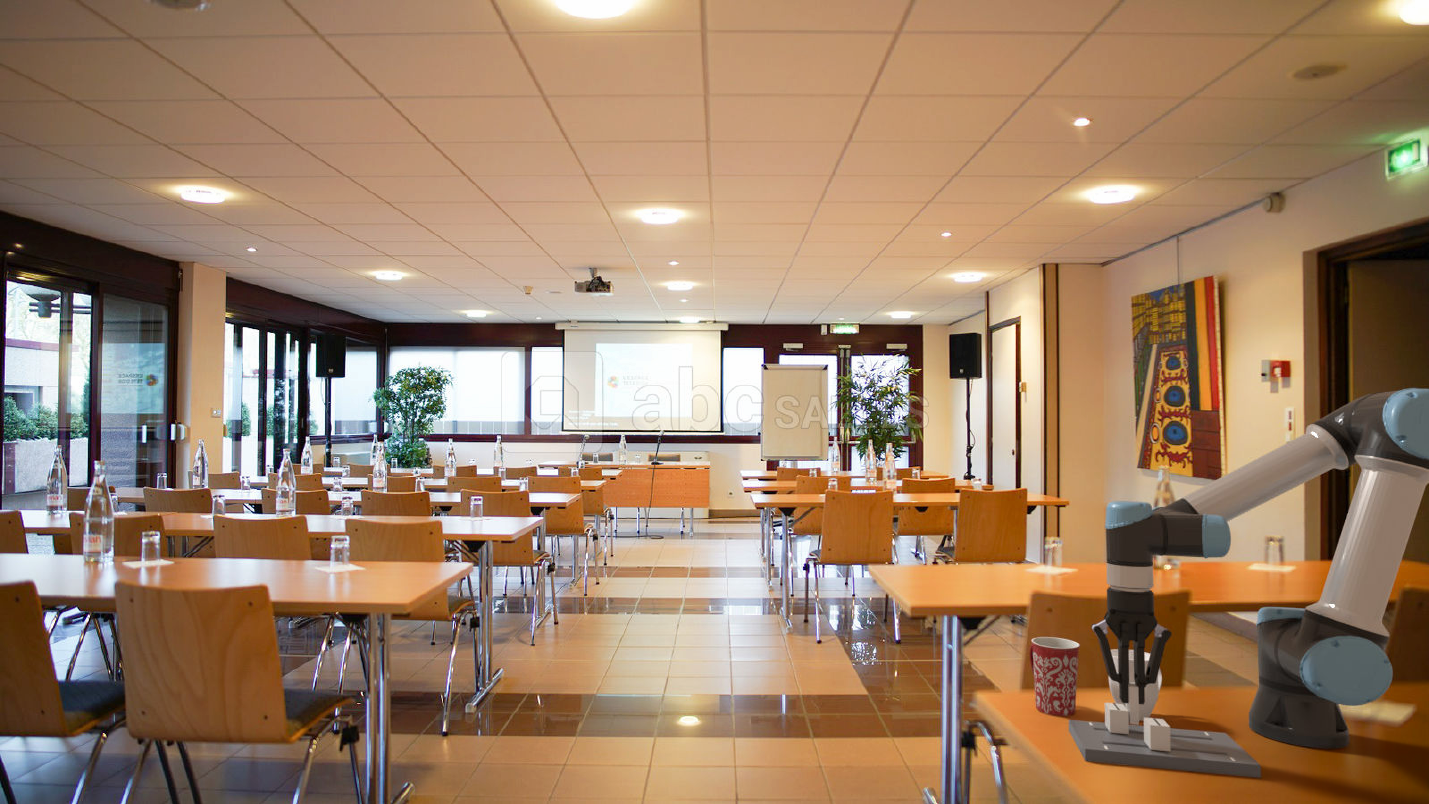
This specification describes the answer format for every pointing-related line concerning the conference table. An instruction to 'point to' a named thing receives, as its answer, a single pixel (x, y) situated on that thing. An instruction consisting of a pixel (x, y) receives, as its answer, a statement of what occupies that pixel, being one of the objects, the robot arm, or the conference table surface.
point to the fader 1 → (1116, 718)
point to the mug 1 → (1055, 674)
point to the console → (1185, 751)
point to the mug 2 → (1150, 689)
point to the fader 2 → (1157, 734)
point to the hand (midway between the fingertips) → (1132, 721)
